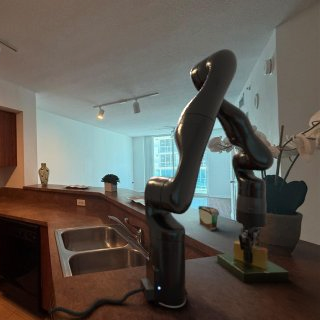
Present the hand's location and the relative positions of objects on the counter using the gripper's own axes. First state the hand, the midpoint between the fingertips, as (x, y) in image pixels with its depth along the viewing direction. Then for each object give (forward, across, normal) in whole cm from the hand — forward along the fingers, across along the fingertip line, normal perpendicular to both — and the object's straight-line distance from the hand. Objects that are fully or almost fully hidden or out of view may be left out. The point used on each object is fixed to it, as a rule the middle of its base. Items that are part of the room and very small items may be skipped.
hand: (249, 260), depth 64 cm
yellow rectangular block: (+1, 0, 0) cm, 1 cm away
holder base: (+4, 0, 0) cm, 4 cm away
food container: (+4, -33, -24) cm, 41 cm away
